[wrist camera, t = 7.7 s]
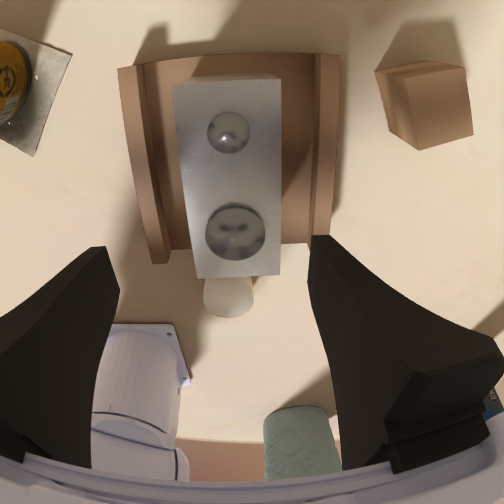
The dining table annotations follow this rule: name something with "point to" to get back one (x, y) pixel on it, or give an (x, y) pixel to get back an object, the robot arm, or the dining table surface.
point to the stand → (292, 141)
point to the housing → (231, 171)
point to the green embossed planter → (299, 444)
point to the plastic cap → (228, 296)
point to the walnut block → (426, 103)
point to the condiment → (27, 88)
